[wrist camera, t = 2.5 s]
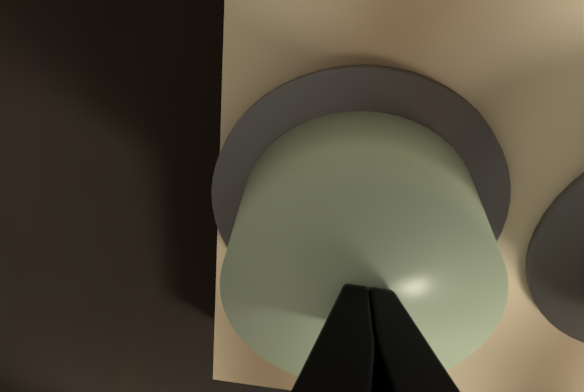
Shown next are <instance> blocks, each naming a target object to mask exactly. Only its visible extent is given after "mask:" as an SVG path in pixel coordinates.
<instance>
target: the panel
mask: <svg viewBox="0 0 584 392" xmlns="http://www.w3.org/2000/svg"><path fill="white" fill-rule="evenodd" d="M353 111H369V112H381V113H386V114H391V115H396V116H400V117H403V118H406V119H409V120H412V121H414V122H416V123H418V124H420V125H423V126H425V127H427V128H429V129H430V130H432V131H433V132H435V133H436V134H438V135H439V136H441V137H442V138H443V139H444V140H445V141H446V142H447V143H449V144H450V145H451V146H452V147H453V148H454V149H455V151H456V152H457V153H458V154H459V156H460V157H461V158H462V160H463V161H464V163H465V165H466V166H467V168H468V170H469V172H470V175H471V177H472V180H473V183H474V185H475V188H476V190H477V193H478V195H479V198H480V201H481V203H482V206H483V208H484V211H485V214H486V216H487V219H488V221H489V224H490V226H491V229H492V232H493V234H494V237H495V239H496V242H497V245H498V247H499V250H500V252H501V255H502V258H503V260H504V263H505V265H506V270H507V275H508V298H507V303H506V307H505V310H504V313H503V315H502V318H501V320H500V322H499V324H498V325H497V327H496V328H495V330H494V332H493V333H492V334H491V336H490V337H489V338H488V339H487V340H486V342H485V343H484V344H483V345H482V346H481V347H480V348H478V349H477V350H476V351H475V352H474V353H473V354H472V355H470V356H469V357H467V358H466V359H465V360H463V361H462V362H460V363H459V364H457V365H455V366H453V367H451V368H449V369H448V370H446V371H447V372H448V374H449V375H450V377H451V378H452V380H453V381H454V383H455V384H456V386H457V388H458V389H459V391H460V392H584V0H224V33H223V65H222V98H221V131H220V154H219V157H218V159H217V162H216V166H215V170H214V174H213V180H212V190H211V195H212V208H213V213H214V218H215V222H216V225H217V227H218V229H217V262H216V295H215V328H214V361H213V379H214V380H221V381H228V382H235V383H242V384H249V385H256V386H263V387H271V388H278V389H285V390H292V388H293V386H294V384H295V382H296V380H297V378H298V376H296V375H294V374H291V373H289V372H287V371H285V370H282V369H280V368H278V367H276V366H275V365H273V364H271V363H270V362H268V361H266V360H265V359H264V358H262V357H261V356H259V355H258V354H257V353H255V352H254V351H253V350H252V349H251V348H250V347H249V346H248V345H247V344H246V343H245V342H244V341H243V340H242V339H241V338H240V337H239V335H238V334H237V333H236V332H235V330H234V329H233V327H232V325H231V324H230V322H229V320H228V318H227V316H226V313H225V311H224V309H223V305H222V301H221V296H220V274H221V268H222V264H223V261H224V258H225V254H226V251H227V247H228V244H229V240H230V237H231V233H232V230H233V227H234V223H235V220H236V216H237V213H238V209H239V206H240V202H241V199H242V195H243V192H244V189H245V185H246V182H247V179H248V176H249V174H250V172H251V170H252V168H253V166H254V164H255V163H256V162H257V160H258V159H259V157H260V156H261V155H262V153H263V152H264V151H265V150H266V149H267V148H268V147H269V146H270V145H271V144H272V143H273V142H274V141H276V140H277V139H278V138H279V137H281V136H282V135H283V134H285V133H286V132H288V131H290V130H291V129H293V128H295V127H296V126H298V125H301V124H303V123H305V122H308V121H310V120H312V119H315V118H319V117H322V116H326V115H329V114H336V113H342V112H353Z"/></svg>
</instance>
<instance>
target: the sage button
mask: <svg viewBox="0 0 584 392" xmlns="http://www.w3.org/2000/svg"><path fill="white" fill-rule="evenodd" d="M345 284H354V285H362V286H366V287H367V288H368V289H369V288H371V287H376V288H383V289H390V290H392V291H394V292H395V293H396V295H397V296H398V298H399V299H400V301H401V303H402V304H403V306H404V307H405V309H406V310H407V312H408V313H409V315H410V316H411V318H412V319H413V321H414V322H415V324H416V325H417V327H418V328H419V330H420V331H421V333H422V334H423V336H424V337H425V339H426V340H427V342H428V343H429V345H430V347H431V348H432V350H433V351H434V353H435V354H436V356H437V357H438V359H439V360H440V362H441V363H442V365H443V366H444V368H445V369H446V370H448V369H449V368H451V367H453V366H455V365H457V364H459V363H460V362H462V361H463V360H465V359H466V358H467V357H469V356H470V355H472V354H473V353H474V352H475V351H476V350H477V349H478V348H480V347H481V346H482V345H483V344H484V343H485V342H486V340H487V339H488V338H489V337H490V336H491V334H492V333H493V332H494V330H495V328H496V327H497V325H498V324H499V322H500V320H501V318H502V315H503V313H504V310H505V307H506V303H507V298H508V275H507V270H506V265H505V263H504V260H503V258H502V255H501V252H500V250H499V247H498V245H497V242H496V239H495V237H494V234H493V232H492V229H491V226H490V224H489V221H488V219H487V216H486V214H485V211H484V208H483V206H482V203H481V201H480V198H479V195H478V193H477V190H476V188H475V185H474V183H473V180H472V177H471V175H470V172H469V170H468V168H467V166H466V165H465V163H464V161H463V160H462V158H461V157H460V156H459V154H458V153H457V152H456V151H455V149H454V148H453V147H452V146H451V145H450V144H449V143H447V142H446V141H445V140H444V139H443V138H442V137H441V136H439V135H438V134H436V133H435V132H433V131H432V130H430V129H429V128H427V127H425V126H423V125H420V124H418V123H416V122H414V121H412V120H409V119H406V118H403V117H400V116H396V115H391V114H386V113H381V112H369V111H353V112H342V113H336V114H329V115H326V116H322V117H319V118H315V119H312V120H310V121H308V122H305V123H303V124H301V125H298V126H296V127H295V128H293V129H291V130H290V131H288V132H286V133H285V134H283V135H282V136H281V137H279V138H278V139H277V140H276V141H274V142H273V143H272V144H271V145H270V146H269V147H268V148H267V149H266V150H265V151H264V152H263V153H262V155H261V156H260V157H259V159H258V160H257V162H256V163H255V164H254V166H253V168H252V170H251V172H250V174H249V176H248V179H247V182H246V185H245V189H244V192H243V195H242V199H241V202H240V206H239V209H238V213H237V216H236V220H235V223H234V227H233V230H232V233H231V237H230V240H229V244H228V247H227V251H226V254H225V258H224V261H223V264H222V268H221V274H220V296H221V301H222V305H223V309H224V311H225V313H226V316H227V318H228V320H229V322H230V324H231V325H232V327H233V329H234V330H235V332H236V333H237V334H238V335H239V337H240V338H241V339H242V340H243V341H244V342H245V343H246V344H247V345H248V346H249V347H250V348H251V349H252V350H253V351H254V352H255V353H257V354H258V355H259V356H261V357H262V358H264V359H265V360H266V361H268V362H270V363H271V364H273V365H275V366H276V367H278V368H280V369H282V370H285V371H287V372H289V373H291V374H294V375H296V376H299V374H300V372H301V370H302V368H303V366H304V364H305V362H306V360H307V358H308V356H309V354H310V352H311V350H312V348H313V346H314V344H315V342H316V339H317V337H318V335H319V333H320V331H321V329H322V327H323V325H324V323H325V321H326V319H327V317H328V315H329V313H330V311H331V309H332V307H333V305H334V303H335V301H336V299H337V297H338V295H339V293H340V291H341V289H342V287H343V285H345Z"/></svg>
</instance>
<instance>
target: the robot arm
mask: <svg viewBox="0 0 584 392" xmlns="http://www.w3.org/2000/svg"><path fill="white" fill-rule="evenodd" d="M291 392H460V391H459V389H458V388H457V386H456V384H455V383H454V381H453V380H452V378H451V377H450V375H449V374H448V372H447V371H446V369H445V368H444V366H443V365H442V363H441V362H440V360H439V359H438V357H437V356H436V354H435V353H434V351H433V350H432V348H431V347H430V345H429V343H428V342H427V340H426V339H425V337H424V336H423V334H422V333H421V331H420V330H419V328H418V327H417V325H416V324H415V322H414V321H413V319H412V318H411V316H410V315H409V313H408V312H407V310H406V309H405V307H404V306H403V304H402V303H401V301H400V299H399V298H398V296H397V295H396V293H395V292H394V291H392V290H390V289H383V288H376V287H371V288H369V289H368V288H367V287H366V286H362V285H354V284H345V285H343V287H342V289H341V291H340V293H339V295H338V297H337V299H336V301H335V303H334V305H333V307H332V309H331V311H330V313H329V315H328V317H327V319H326V321H325V323H324V325H323V327H322V329H321V331H320V333H319V335H318V337H317V339H316V342H315V344H314V346H313V348H312V350H311V352H310V354H309V356H308V358H307V360H306V362H305V364H304V366H303V368H302V370H301V372H300V374H299V376H298V378H297V380H296V382H295V384H294V386H293V388H292V390H291Z"/></svg>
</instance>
